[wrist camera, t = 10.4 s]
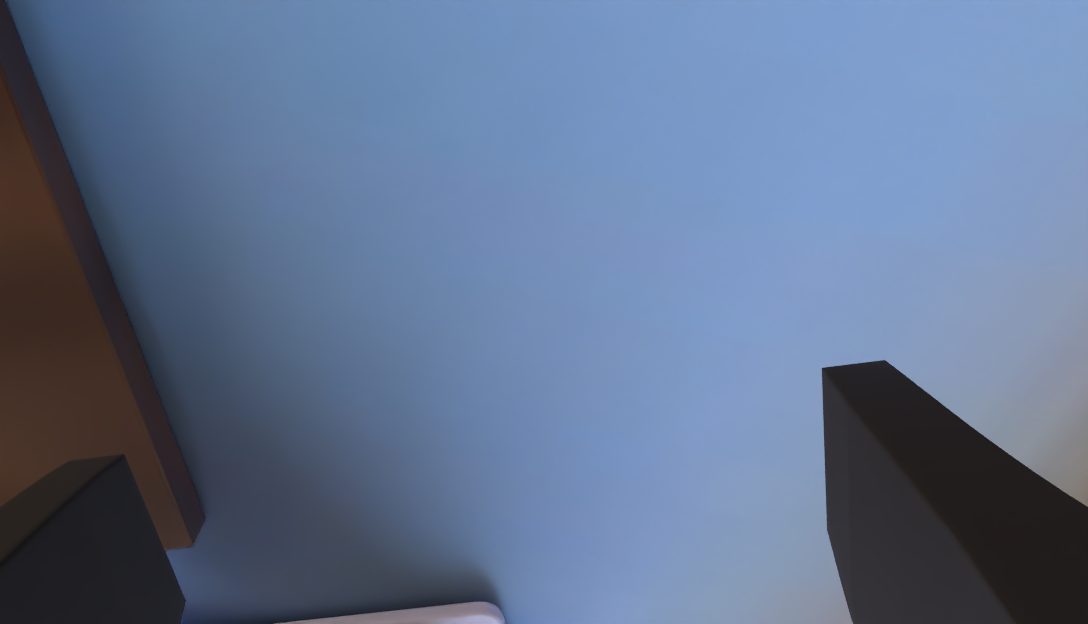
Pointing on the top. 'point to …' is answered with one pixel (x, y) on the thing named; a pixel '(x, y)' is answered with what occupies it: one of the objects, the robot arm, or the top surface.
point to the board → (69, 325)
